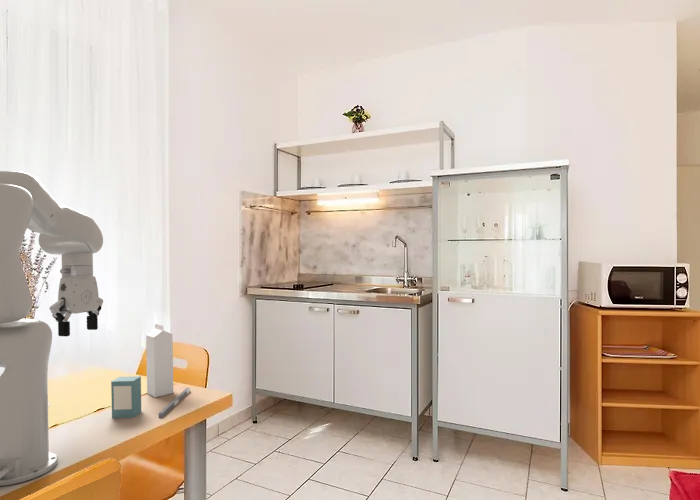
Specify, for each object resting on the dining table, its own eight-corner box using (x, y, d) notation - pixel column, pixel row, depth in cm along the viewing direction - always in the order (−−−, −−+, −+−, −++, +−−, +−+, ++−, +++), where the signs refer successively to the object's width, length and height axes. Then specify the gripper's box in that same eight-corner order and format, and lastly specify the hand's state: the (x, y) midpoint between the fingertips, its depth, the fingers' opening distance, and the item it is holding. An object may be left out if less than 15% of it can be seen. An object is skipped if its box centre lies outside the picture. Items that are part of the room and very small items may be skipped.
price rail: (163, 417, 120) (163, 413, 120) (158, 417, 120) (158, 413, 120) (190, 391, 142) (190, 387, 142) (186, 391, 142) (186, 387, 142)
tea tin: (141, 411, 125) (140, 376, 125) (133, 417, 121) (133, 381, 121) (120, 411, 125) (119, 376, 125) (111, 418, 121) (111, 381, 121)
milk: (155, 397, 137) (153, 327, 137) (146, 393, 141) (145, 325, 141) (174, 392, 141) (172, 324, 141) (165, 389, 146) (164, 322, 145)
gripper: (62, 273, 115) (63, 339, 115) (111, 270, 132) (112, 327, 132) (38, 273, 117) (40, 338, 117) (90, 270, 133) (91, 327, 133)
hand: (78, 332), depth 124 cm, fingers open, 9 cm apart
